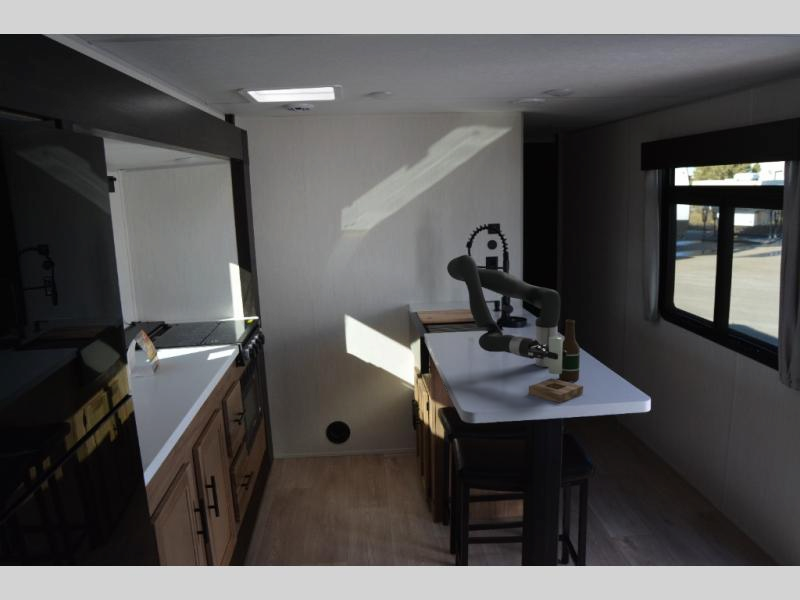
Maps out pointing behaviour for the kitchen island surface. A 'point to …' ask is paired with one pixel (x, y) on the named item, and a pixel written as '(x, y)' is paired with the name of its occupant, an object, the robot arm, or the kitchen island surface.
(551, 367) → the pale green cylinder
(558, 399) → the walnut block
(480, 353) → the kitchen island surface
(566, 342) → the beer bottle
